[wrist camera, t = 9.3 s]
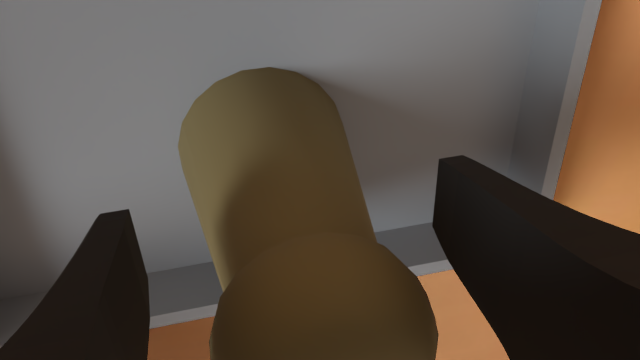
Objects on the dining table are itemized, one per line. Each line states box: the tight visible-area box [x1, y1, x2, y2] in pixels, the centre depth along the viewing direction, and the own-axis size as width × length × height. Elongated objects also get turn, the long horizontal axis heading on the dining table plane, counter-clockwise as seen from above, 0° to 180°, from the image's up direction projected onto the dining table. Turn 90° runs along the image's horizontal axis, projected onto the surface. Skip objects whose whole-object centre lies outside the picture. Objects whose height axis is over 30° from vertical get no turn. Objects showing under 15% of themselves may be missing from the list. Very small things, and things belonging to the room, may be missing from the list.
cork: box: [178, 67, 438, 360], centre depth 16 cm, size 6×6×11 cm
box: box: [0, 0, 602, 348], centre depth 18 cm, size 16×22×3 cm
